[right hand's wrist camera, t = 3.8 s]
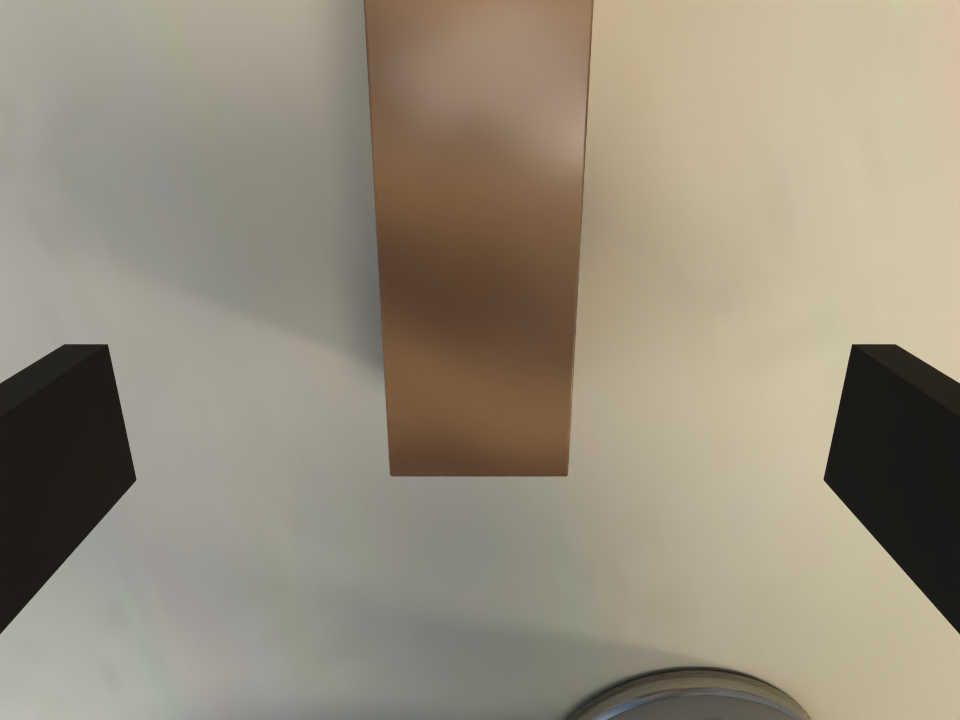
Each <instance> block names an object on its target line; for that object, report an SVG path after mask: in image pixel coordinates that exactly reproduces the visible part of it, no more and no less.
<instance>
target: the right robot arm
mask: <svg viewBox="0 0 960 720" xmlns="http://www.w3.org/2000/svg"><path fill="white" fill-rule="evenodd" d="M135 481H136V475H135V471H134V466H133V461H132V457H131V452H130V447H129V442H128V438H127V433H126V428H125V423H124V419H123V414H122V409H121V405H120V400H119V395H118V390H117V386H116V381H115V376H114V371H113V367H112V362H111V357H110V352H109V348H108V344H64V345H63V346H61V347H59V348H58V349H56V350H54V351H53V352H51V353H49V354H48V355H46V356H45V357H43V358H41V359H40V360H38V361H36V362H35V363H33V364H31V365H30V366H28V367H26V368H25V369H23V370H22V371H20V372H18V373H17V374H15V375H13V376H12V377H10V378H8V379H7V380H5V381H4V382H2V383H0V634H1V633H2V632H3V630H4V629H5V628H6V627H7V626H8V625H9V624H10V623H11V621H12V620H13V619H14V618H15V617H16V616H17V615H18V613H19V612H20V611H21V610H22V609H23V608H24V607H25V606H26V604H27V603H28V602H29V601H30V600H31V599H32V598H33V596H34V595H35V594H36V593H37V592H38V591H39V590H40V589H41V587H42V586H43V585H44V584H45V583H46V582H47V581H48V580H49V578H50V577H51V576H52V575H53V574H54V573H55V572H56V570H57V569H58V568H59V567H60V566H61V565H62V564H63V563H64V561H65V560H66V559H67V558H68V557H69V556H70V555H71V553H72V552H73V551H74V550H75V549H76V548H77V547H78V546H79V544H80V543H81V542H82V541H83V540H84V539H85V538H86V537H87V535H88V534H89V533H90V532H91V531H92V530H93V529H94V527H95V526H96V525H97V524H98V523H99V522H100V521H101V520H102V518H103V517H104V516H105V515H106V514H107V513H108V512H109V510H110V509H111V508H112V507H113V506H114V505H115V504H116V503H117V501H118V500H119V499H120V498H121V497H122V496H123V495H124V494H125V492H126V491H127V490H128V489H129V488H130V487H131V486H132V484H133V483H134V482H135ZM824 481H825V482H826V483H827V484H828V486H829V487H830V488H831V489H832V490H833V491H834V492H835V494H836V495H837V496H838V497H839V498H840V499H841V500H842V501H843V503H844V504H845V505H846V506H847V507H848V508H849V509H850V510H851V512H852V513H853V514H854V515H855V516H856V517H857V518H858V520H859V521H860V522H861V523H862V524H863V525H864V526H865V527H866V529H867V530H868V531H869V532H870V533H871V534H872V535H873V537H874V538H875V539H876V540H877V541H878V542H879V543H880V544H881V546H882V547H883V548H884V549H885V550H886V551H887V552H888V553H889V555H890V556H891V557H892V558H893V559H894V560H895V561H896V563H897V564H898V565H899V566H900V567H901V568H902V569H903V570H904V572H905V573H906V574H907V575H908V576H909V577H910V578H911V580H912V581H913V582H914V583H915V584H916V585H917V586H918V587H919V589H920V590H921V591H922V592H923V593H924V594H925V595H926V596H927V598H928V599H929V600H930V601H931V602H932V603H933V604H934V606H935V607H936V608H937V609H938V610H939V611H940V612H941V613H942V615H943V616H944V617H945V618H946V619H947V620H948V621H949V623H950V624H951V625H952V626H953V627H954V628H955V629H956V630H957V632H958V633H959V634H960V383H958V382H956V381H955V380H953V379H952V378H950V377H948V376H947V375H945V374H943V373H942V372H940V371H938V370H937V369H935V368H934V367H932V366H930V365H929V364H927V363H925V362H924V361H922V360H920V359H919V358H917V357H915V356H914V355H912V354H911V353H909V352H907V351H906V350H904V349H902V348H901V347H899V346H897V345H896V344H852V348H851V352H850V357H849V362H848V367H847V371H846V376H845V381H844V386H843V390H842V395H841V400H840V405H839V409H838V414H837V419H836V423H835V428H834V433H833V438H832V442H831V447H830V452H829V457H828V461H827V466H826V471H825V475H824ZM567 720H811V718H810V717H809V715H808V714H807V713H806V712H805V711H804V710H803V709H802V708H801V707H800V706H799V705H798V704H797V703H796V702H795V701H794V700H792V699H791V698H790V697H788V696H787V695H785V694H784V693H782V692H781V691H779V690H777V689H775V688H773V687H771V686H769V685H767V684H765V683H762V682H760V681H757V680H754V679H751V678H748V677H745V676H740V675H736V674H731V673H724V672H717V671H703V670H699V671H677V672H668V673H662V674H656V675H652V676H648V677H644V678H640V679H637V680H634V681H631V682H628V683H625V684H623V685H620V686H618V687H615V688H613V689H611V690H609V691H607V692H605V693H603V694H601V695H599V696H598V697H596V698H594V699H593V700H591V701H589V702H588V703H587V704H585V705H584V706H583V707H581V708H580V709H579V710H577V711H576V712H575V713H574V714H573V715H572V716H571V717H569V718H568V719H567Z"/></svg>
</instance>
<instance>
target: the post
mask: <svg viewBox="0 0 960 720" xmlns="http://www.w3.org/2000/svg"><path fill="white" fill-rule="evenodd" d="M593 1H594V0H364V12H365V30H366V48H367V66H368V84H369V102H370V121H371V139H372V157H373V175H374V193H375V211H376V230H377V248H378V266H379V284H380V302H381V320H382V339H383V357H384V375H385V393H386V411H387V430H388V448H389V466H390V475H391V476H567V475H568V463H569V445H570V426H571V408H572V389H573V371H574V352H575V334H576V315H577V297H578V278H579V260H580V241H581V223H582V204H583V186H584V167H585V149H586V130H587V112H588V94H589V75H590V57H591V38H592V20H593Z"/></svg>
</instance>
